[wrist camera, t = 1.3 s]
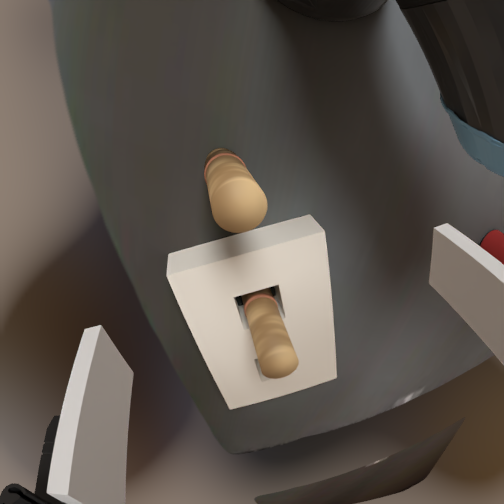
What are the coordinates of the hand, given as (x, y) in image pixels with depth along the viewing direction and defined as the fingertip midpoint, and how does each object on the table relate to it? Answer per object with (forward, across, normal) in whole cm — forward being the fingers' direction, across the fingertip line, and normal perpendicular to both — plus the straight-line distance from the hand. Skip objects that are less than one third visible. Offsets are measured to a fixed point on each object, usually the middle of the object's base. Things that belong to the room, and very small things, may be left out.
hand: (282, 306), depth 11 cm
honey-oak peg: (+23, 0, 0) cm, 23 cm away
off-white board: (+22, 0, -20) cm, 30 cm away
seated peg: (+22, 0, -15) cm, 27 cm away
